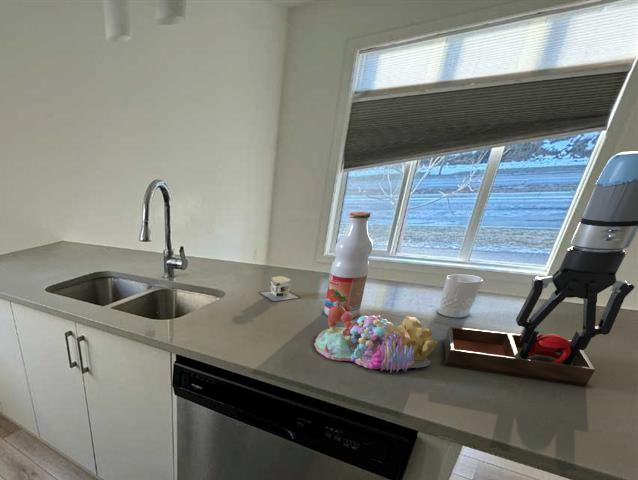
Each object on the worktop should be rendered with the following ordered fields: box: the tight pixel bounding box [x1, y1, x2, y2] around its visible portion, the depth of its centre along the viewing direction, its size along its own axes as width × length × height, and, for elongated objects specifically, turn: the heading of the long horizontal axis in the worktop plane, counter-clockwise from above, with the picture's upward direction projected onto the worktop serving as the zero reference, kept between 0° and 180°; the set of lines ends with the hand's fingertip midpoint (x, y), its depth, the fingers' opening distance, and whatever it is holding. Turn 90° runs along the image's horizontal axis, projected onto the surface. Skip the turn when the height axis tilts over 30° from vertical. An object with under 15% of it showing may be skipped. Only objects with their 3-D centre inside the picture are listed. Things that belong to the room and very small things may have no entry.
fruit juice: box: [323, 211, 374, 319], centre depth 113 cm, size 9×9×28 cm
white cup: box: [437, 273, 484, 318], centre depth 111 cm, size 8×8×10 cm
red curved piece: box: [528, 333, 571, 363], centre depth 84 cm, size 8×6×6 cm
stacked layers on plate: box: [260, 275, 299, 302], centre depth 137 cm, size 10×9×6 cm
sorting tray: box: [444, 326, 596, 387], centre depth 88 cm, size 22×14×4 cm, turn 57°
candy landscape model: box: [313, 305, 438, 374], centre depth 96 cm, size 25×24×9 cm
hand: (543, 359), depth 85 cm, fingers closed on red curved piece, 6 cm apart
